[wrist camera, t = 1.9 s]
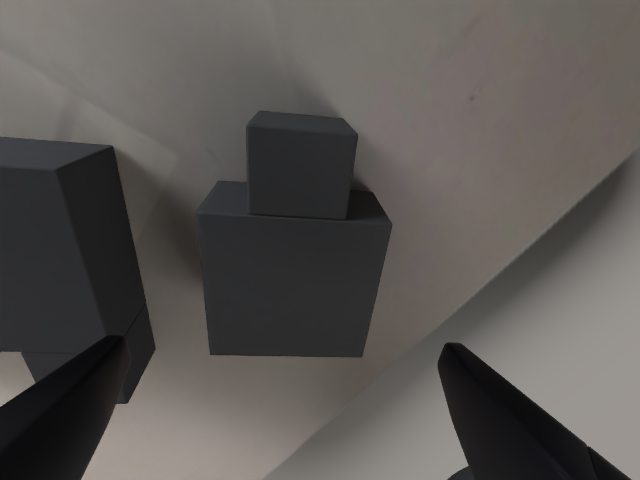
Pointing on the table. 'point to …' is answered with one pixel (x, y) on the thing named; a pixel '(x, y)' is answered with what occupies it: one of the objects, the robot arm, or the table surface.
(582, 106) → the table surface
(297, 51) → the table surface
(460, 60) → the table surface
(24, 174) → the dark gray pronged block
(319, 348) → the dark gray tabbed block
